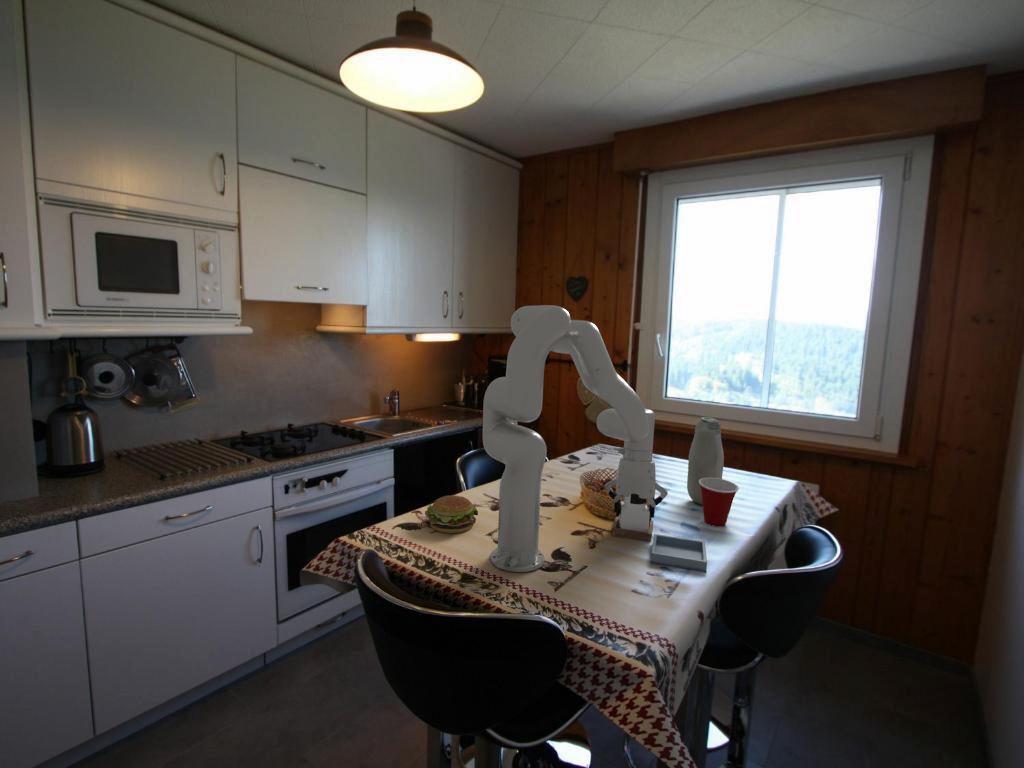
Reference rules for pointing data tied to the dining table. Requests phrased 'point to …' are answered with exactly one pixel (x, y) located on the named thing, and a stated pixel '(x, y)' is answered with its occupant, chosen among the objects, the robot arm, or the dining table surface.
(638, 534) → the collar
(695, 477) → the grey bottle
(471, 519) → the food
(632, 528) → the medicine bottle
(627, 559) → the dining table surface
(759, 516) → the dining table surface
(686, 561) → the tray
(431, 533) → the dining table surface
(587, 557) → the dining table surface
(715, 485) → the plastic cup
